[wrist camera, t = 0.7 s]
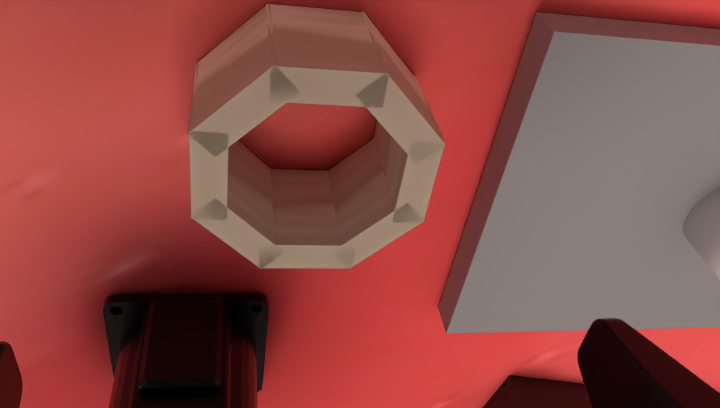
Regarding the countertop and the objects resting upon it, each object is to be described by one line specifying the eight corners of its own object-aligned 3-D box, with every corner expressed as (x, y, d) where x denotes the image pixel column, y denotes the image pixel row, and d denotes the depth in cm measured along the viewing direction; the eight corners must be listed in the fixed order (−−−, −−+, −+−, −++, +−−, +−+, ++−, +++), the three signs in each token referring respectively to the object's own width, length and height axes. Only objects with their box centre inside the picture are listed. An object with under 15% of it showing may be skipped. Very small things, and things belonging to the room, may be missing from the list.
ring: (389, 194, 24) (411, 268, 21) (198, 189, 22) (191, 268, 19) (429, 16, 19) (464, 77, 16) (194, -4, 18) (185, 58, 15)
